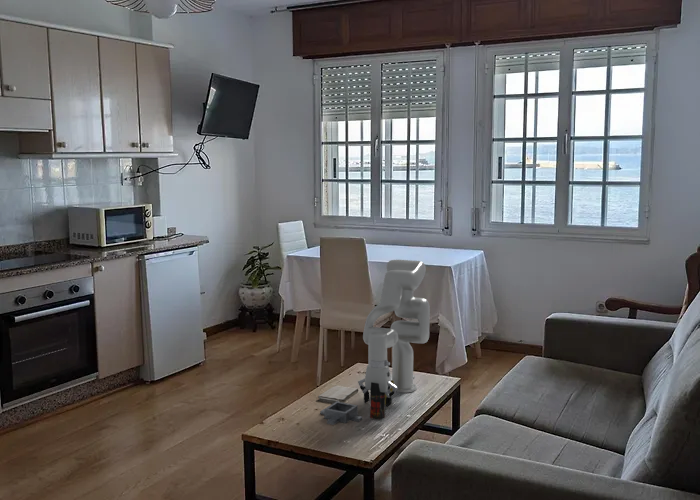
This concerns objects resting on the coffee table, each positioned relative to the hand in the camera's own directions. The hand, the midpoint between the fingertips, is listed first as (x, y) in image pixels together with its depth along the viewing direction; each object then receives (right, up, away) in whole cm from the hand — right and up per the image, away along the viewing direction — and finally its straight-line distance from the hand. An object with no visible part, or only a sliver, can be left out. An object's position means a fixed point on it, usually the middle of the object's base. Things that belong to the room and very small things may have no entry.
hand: (377, 404), depth 269 cm
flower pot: (+3, -4, +16) cm, 17 cm away
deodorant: (0, -6, +1) cm, 6 cm away
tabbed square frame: (-15, -5, +1) cm, 16 cm away
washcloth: (-16, -3, +24) cm, 30 cm away
